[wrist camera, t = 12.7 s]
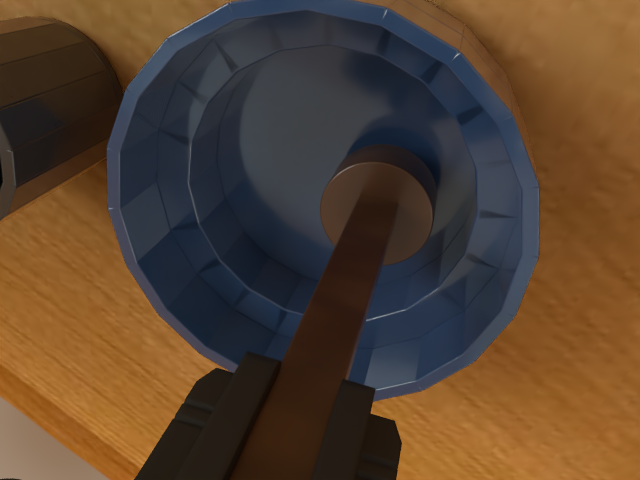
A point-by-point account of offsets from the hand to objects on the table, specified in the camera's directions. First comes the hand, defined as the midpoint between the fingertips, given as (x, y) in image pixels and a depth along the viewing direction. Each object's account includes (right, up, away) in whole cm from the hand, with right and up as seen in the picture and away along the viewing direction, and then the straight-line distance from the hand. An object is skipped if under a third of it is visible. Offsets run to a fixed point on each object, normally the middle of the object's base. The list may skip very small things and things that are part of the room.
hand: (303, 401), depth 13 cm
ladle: (+3, +5, +10) cm, 12 cm away
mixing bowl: (+1, +6, +12) cm, 13 cm away
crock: (-11, +10, +13) cm, 20 cm away
